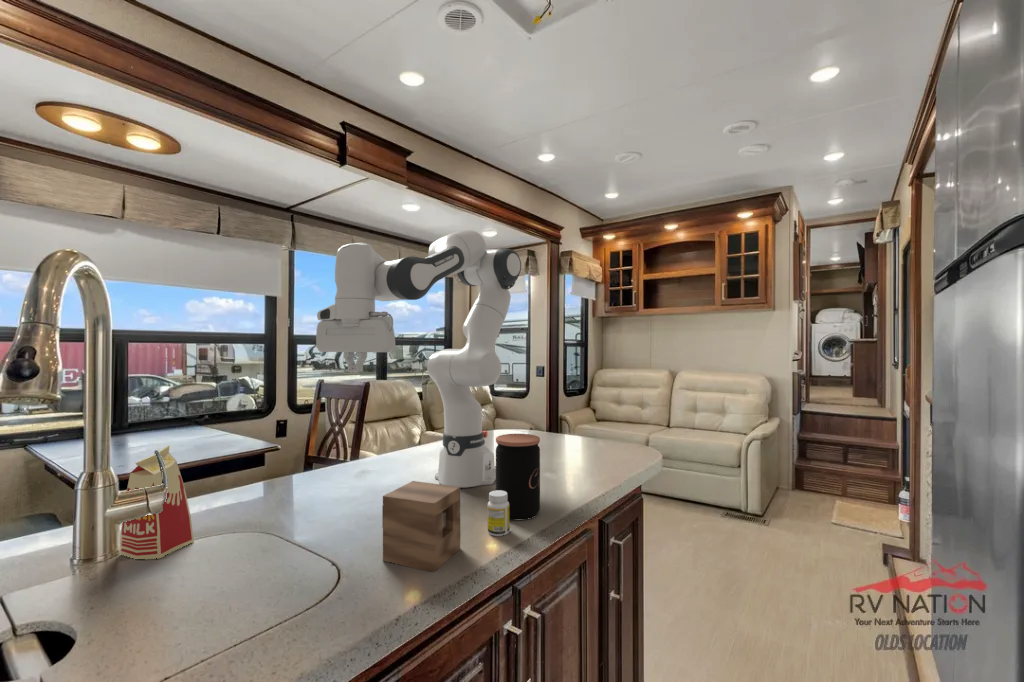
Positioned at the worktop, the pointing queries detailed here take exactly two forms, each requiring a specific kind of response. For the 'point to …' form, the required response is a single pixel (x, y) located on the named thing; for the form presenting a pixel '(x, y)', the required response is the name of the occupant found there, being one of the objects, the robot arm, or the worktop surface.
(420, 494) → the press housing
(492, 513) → the supplement bottle
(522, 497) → the coffee jar
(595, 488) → the worktop surface
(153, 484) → the milk carton
